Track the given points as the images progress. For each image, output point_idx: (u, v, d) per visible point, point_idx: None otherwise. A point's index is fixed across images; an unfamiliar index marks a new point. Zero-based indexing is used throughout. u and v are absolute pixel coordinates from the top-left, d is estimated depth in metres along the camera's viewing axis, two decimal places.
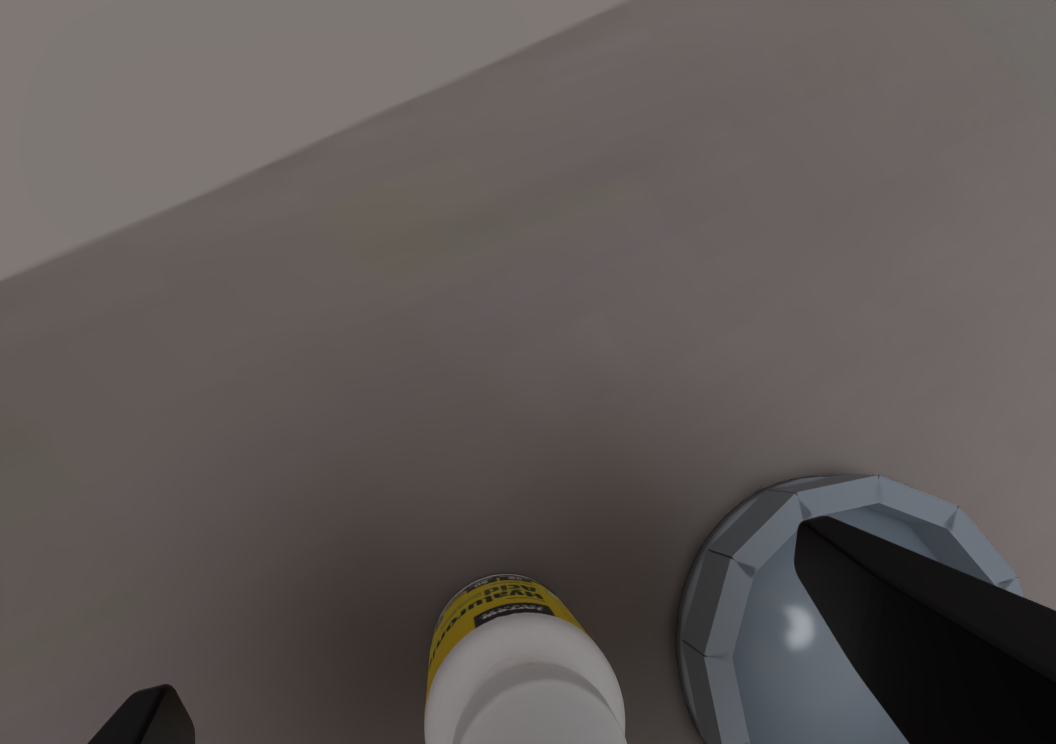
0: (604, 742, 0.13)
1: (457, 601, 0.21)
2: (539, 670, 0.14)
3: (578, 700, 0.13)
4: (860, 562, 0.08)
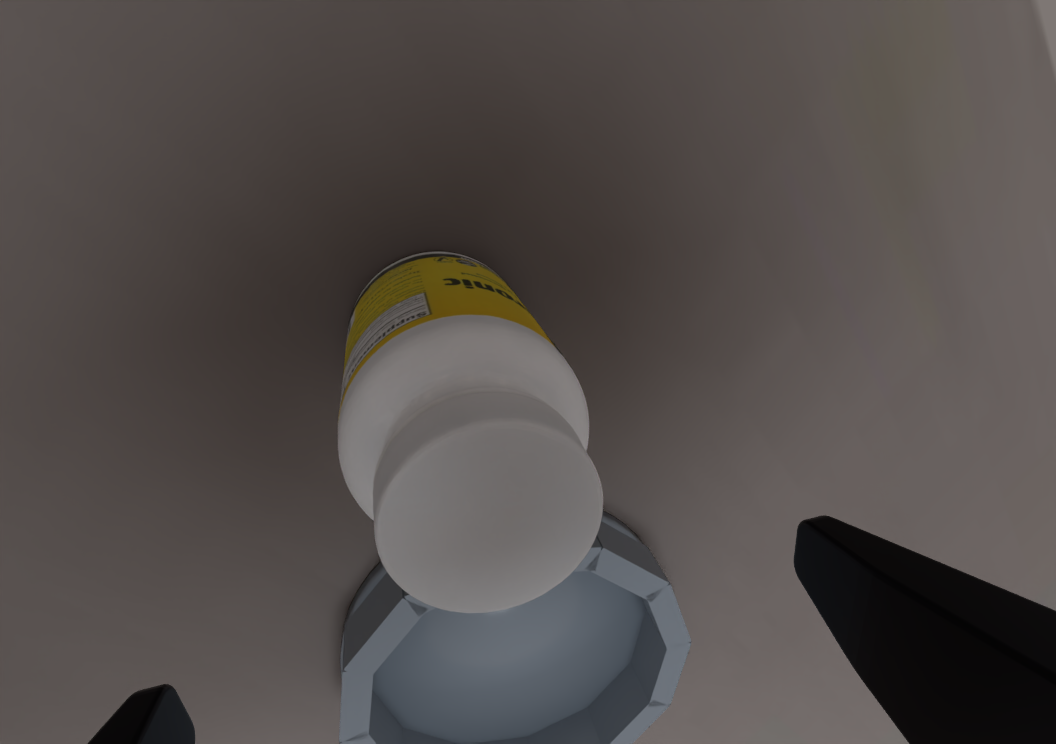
0: (542, 572, 0.11)
1: (498, 278, 0.17)
2: None
3: (586, 533, 0.11)
4: (860, 562, 0.08)
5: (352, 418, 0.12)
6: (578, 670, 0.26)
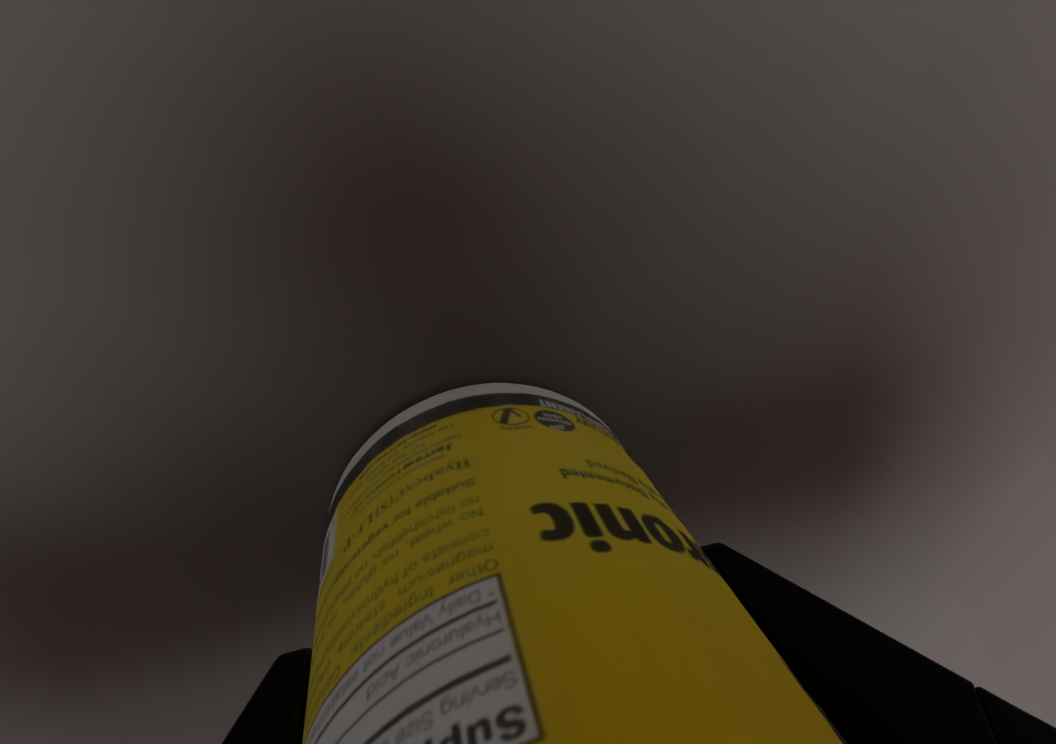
0: None
1: (614, 447, 0.09)
2: None
3: None
4: (740, 595, 0.08)
5: None
6: None
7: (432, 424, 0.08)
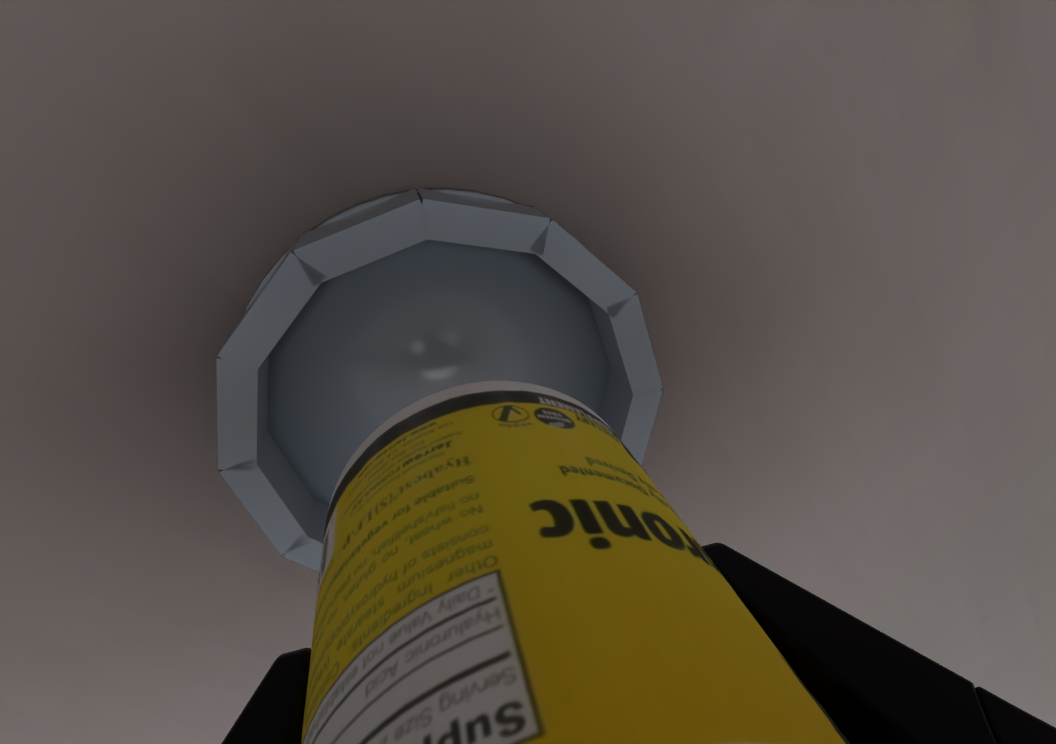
0: None
1: (614, 445, 0.09)
2: None
3: None
4: (740, 595, 0.08)
5: None
6: None
7: (432, 422, 0.08)
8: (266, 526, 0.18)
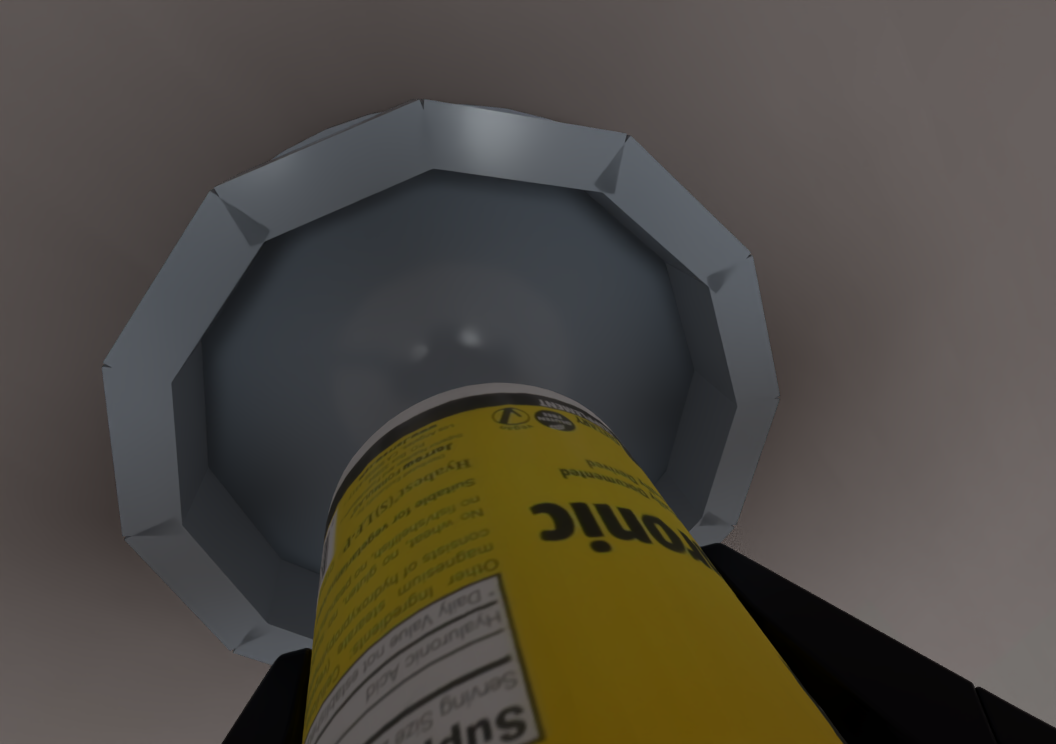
0: None
1: (614, 447, 0.09)
2: None
3: None
4: (740, 595, 0.08)
5: None
6: None
7: (432, 424, 0.08)
8: (205, 612, 0.12)
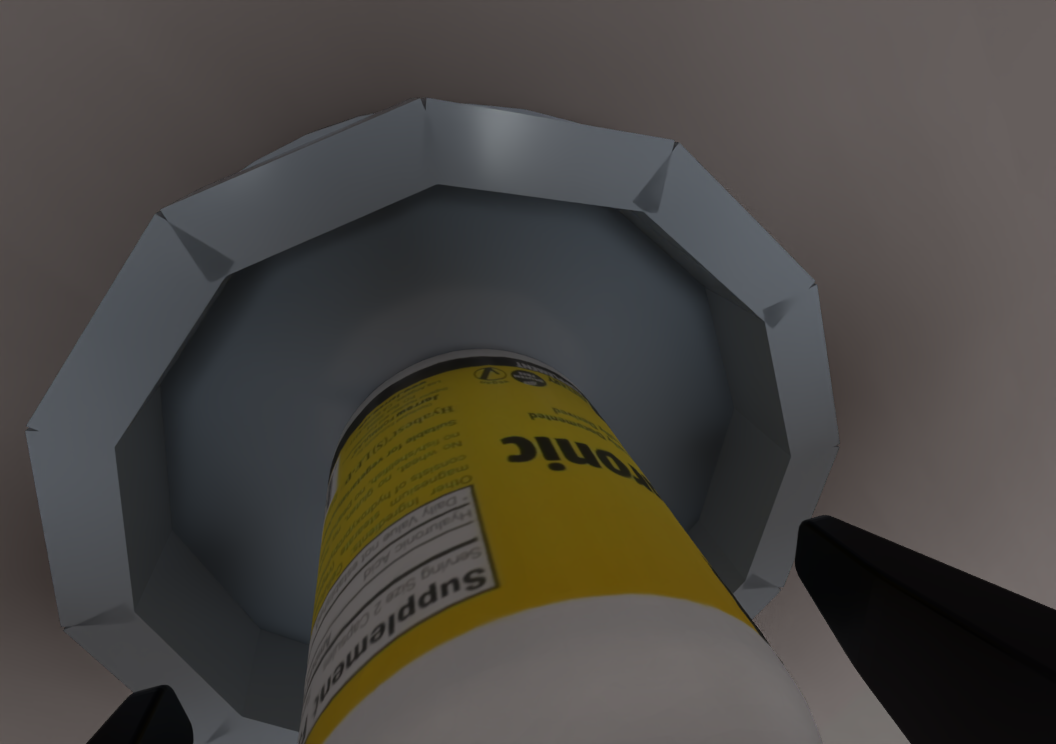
0: None
1: (581, 402, 0.10)
2: None
3: None
4: (861, 562, 0.08)
5: None
6: None
7: (422, 381, 0.10)
8: None
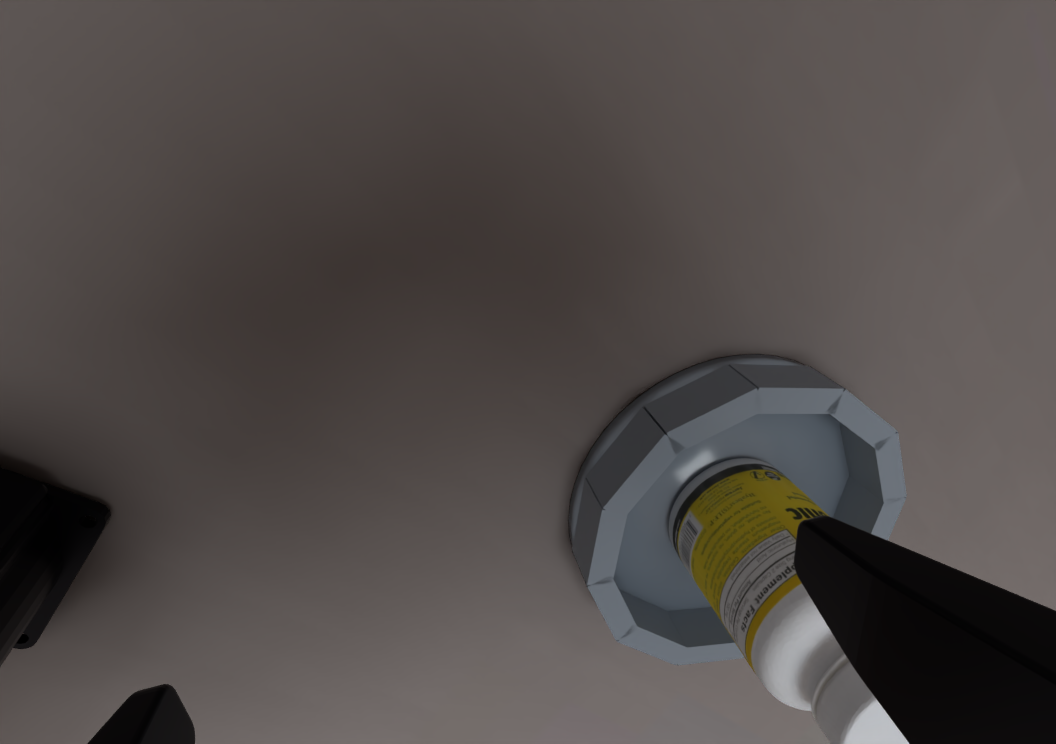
0: None
1: (793, 485, 0.23)
2: None
3: None
4: (860, 562, 0.08)
5: (783, 642, 0.18)
6: None
7: (726, 478, 0.23)
8: (611, 621, 0.23)
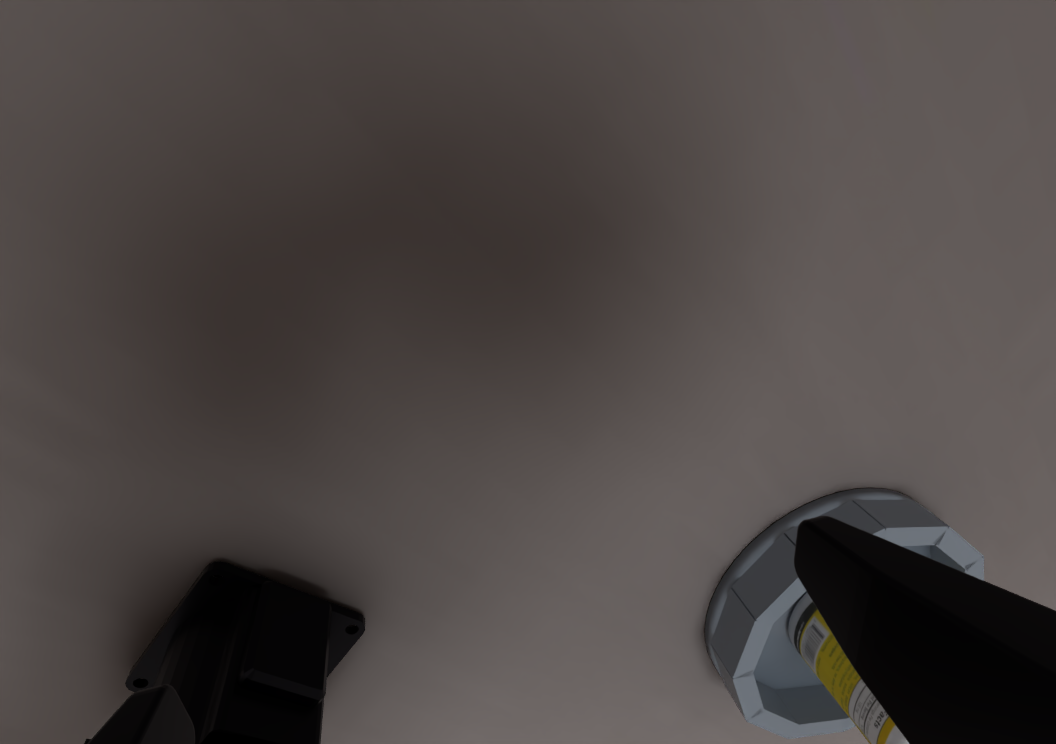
0: None
1: None
2: None
3: None
4: (860, 562, 0.08)
5: None
6: None
7: None
8: (745, 705, 0.28)
